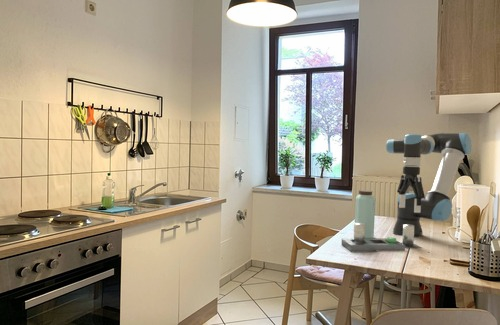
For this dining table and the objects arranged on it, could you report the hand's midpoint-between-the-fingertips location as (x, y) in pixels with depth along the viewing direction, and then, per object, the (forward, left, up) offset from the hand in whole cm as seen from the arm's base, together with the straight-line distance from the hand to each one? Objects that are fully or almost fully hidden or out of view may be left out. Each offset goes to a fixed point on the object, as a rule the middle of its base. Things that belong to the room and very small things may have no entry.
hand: (409, 210), depth 177 cm
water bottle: (+15, -17, -18) cm, 29 cm away
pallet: (+19, +2, -18) cm, 26 cm away
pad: (0, 0, -18) cm, 18 cm away
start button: (+9, +2, -16) cm, 18 cm away
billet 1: (+26, +2, -17) cm, 31 cm away
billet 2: (0, 0, -17) cm, 17 cm away
